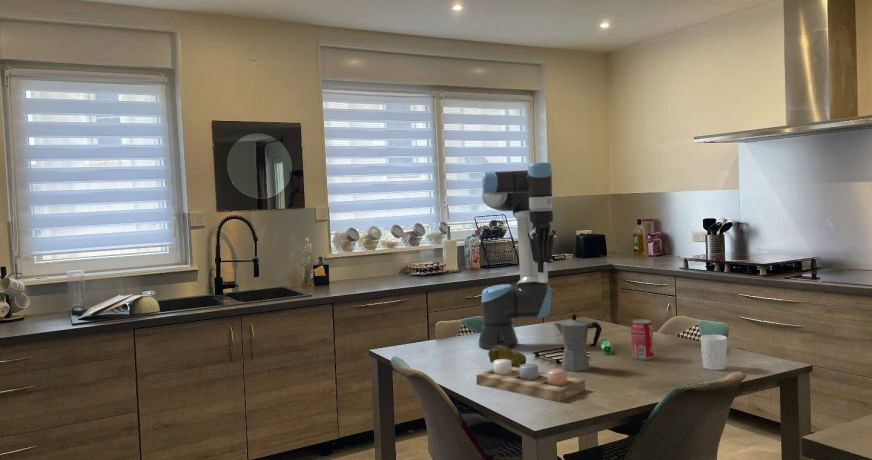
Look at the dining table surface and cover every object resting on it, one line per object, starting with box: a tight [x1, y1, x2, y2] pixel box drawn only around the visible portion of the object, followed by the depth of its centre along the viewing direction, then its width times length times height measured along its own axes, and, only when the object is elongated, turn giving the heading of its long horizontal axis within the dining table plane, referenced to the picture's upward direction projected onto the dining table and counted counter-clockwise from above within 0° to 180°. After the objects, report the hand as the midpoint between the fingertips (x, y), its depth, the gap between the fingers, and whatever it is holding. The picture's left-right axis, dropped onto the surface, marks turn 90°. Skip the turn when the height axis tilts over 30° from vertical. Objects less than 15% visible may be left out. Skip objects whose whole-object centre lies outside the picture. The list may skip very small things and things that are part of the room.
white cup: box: [700, 334, 728, 371], centre depth 215 cm, size 8×8×10 cm
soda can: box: [630, 318, 655, 361], centre depth 230 cm, size 7×7×13 cm
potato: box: [487, 346, 527, 368], centre depth 223 cm, size 8×13×8 cm, turn 89°
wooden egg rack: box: [475, 367, 586, 403], centre depth 201 cm, size 30×14×3 cm, turn 47°
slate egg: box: [520, 363, 539, 382], centre depth 201 cm, size 6×6×5 cm
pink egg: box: [546, 368, 568, 387], centre depth 194 cm, size 6×6×5 cm
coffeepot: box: [554, 313, 603, 372], centre depth 220 cm, size 15×9×18 cm, turn 68°
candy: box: [598, 338, 614, 355], centre depth 243 cm, size 12×3×4 cm
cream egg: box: [492, 359, 512, 376], centre depth 208 cm, size 6×6×5 cm
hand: (543, 282), depth 217 cm, fingers closed
